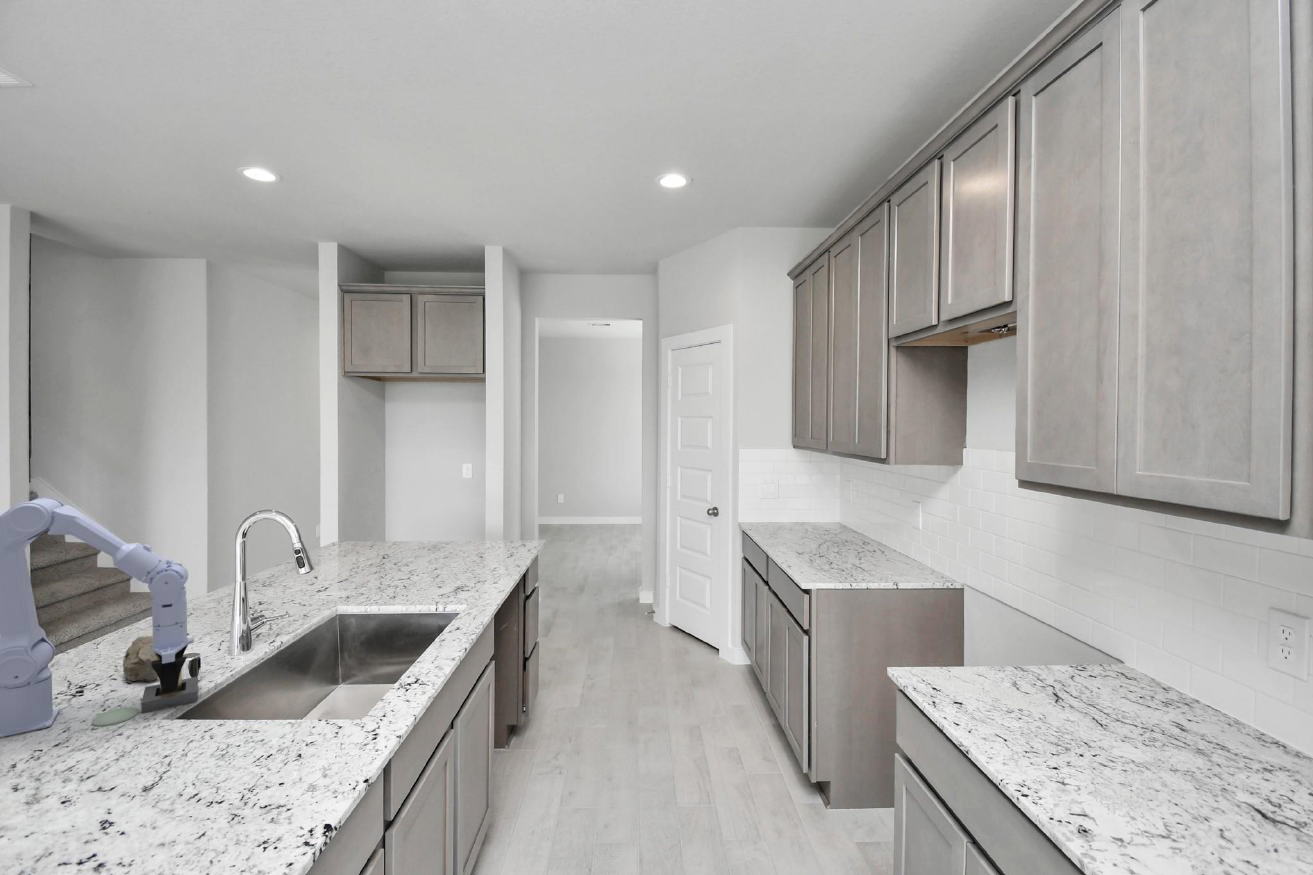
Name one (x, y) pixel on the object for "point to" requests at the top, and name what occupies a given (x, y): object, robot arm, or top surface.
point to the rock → (140, 660)
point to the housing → (169, 696)
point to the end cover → (177, 687)
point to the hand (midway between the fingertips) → (170, 685)
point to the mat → (115, 716)
